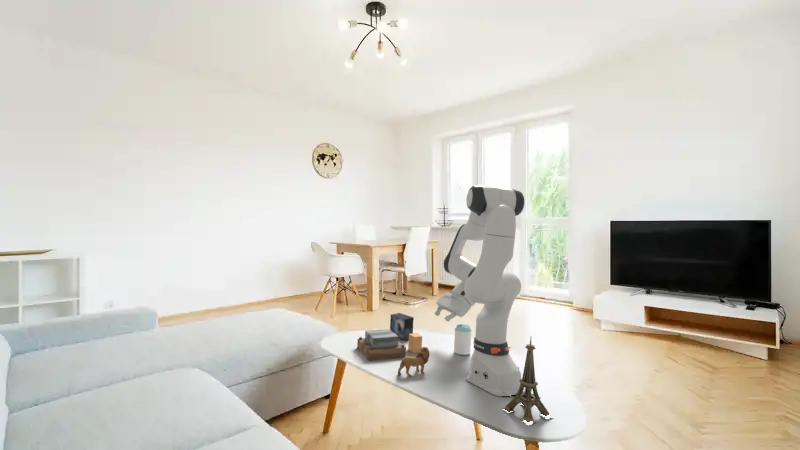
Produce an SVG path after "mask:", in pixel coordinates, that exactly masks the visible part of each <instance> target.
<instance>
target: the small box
mask: <svg viewBox="0 0 800 450" xmlns="http://www.w3.org/2000/svg"><path fill="white" fill-rule="evenodd" d="M414 320H415V319H414V317H413V316H412V315H411V316H410V315H407V314H404V313H400V312H397V313H392V314H390V322H389V324H390V325H389V330H391V331H392V332H393V333H395V334H396V335H397V336H399V340H401V341H404V342H405V341H409V334H412V333H414Z"/></svg>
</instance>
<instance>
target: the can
mask: <svg viewBox="0 0 800 450" xmlns="http://www.w3.org/2000/svg"><path fill="white" fill-rule="evenodd" d="M471 345H472V329H471V326H470V325H469V324H465V323H463V324H461V323H459V324H457V325H456V327H455V328H454V344H453V353H455V354H456V355H458V356H469V354H471Z"/></svg>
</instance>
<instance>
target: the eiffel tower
mask: <svg viewBox="0 0 800 450" xmlns="http://www.w3.org/2000/svg"><path fill="white" fill-rule="evenodd" d="M529 338H530V339H529V344H526V346H525V347H524V348H525V349H526V356H525V362H524V363H525V364H524V368H523V373H522V376H521V379H520V381H519V382H520V383H521V384H520V387H519V390H518V392H517V393H515V395H516V396H513V398H512V399H511V400H510V401H509V402H508V403H507V404H506V405H505V407H503V408H502V409H505V410H507V411H508V412H510V411H514V410H515V408H516V407H517V406H518V405H519V404H521V403H522V404H523V405H524V406H525V407H526V408H525V409H524V410H525V411H524V415H523V419H524V420H526V421H527V422H530V421H534V418H533V414H532V413H533V412H532V408H533V406H535V407H536V408H537V410H538V411H539V413H540V414H543V415H545V416H547V415H549V414H550V412H549V411H548V408H546V407H545V405H544V403H543V402H542V400H541V396H540V395H539V393H538V388H537V387H538V385H539V383H538V381H536V373H535V372H536V371H535V362H534V359H535V358H534V350H536V347H535V345H534V344H532V337H529ZM524 387H525V392H523V389H524Z"/></svg>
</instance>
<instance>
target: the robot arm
mask: <svg viewBox="0 0 800 450" xmlns="http://www.w3.org/2000/svg"><path fill="white" fill-rule="evenodd" d="M466 206H467V209H469V211H470V214H469V216H468V220H467V221H466V223H463V224H462V225H461V226H460V227H459V229H458V231H457V233H456V234H455V237H454V239H453V241H452V244H451V246H450V249H449V251H448V253H447V255H446V256H445V258H444V260H443V269H444V271H445V272H446V273H448V274H450V275H452V276H453V277H455V278H457V280H459V281H460V282H458V283H457V284H456V285H455V286H454V288H453V289H452V290H451V291H450V290H449V291H448V292H445V293H443V294H442V295H441V296H440V297H439V298H438V299H437V300H436V304H437V308H436V311H435V312H434V315H435V316H436V317H439V316H440V314H441V312H442V311H443V310H445V311H446V312H449V313H450V314H448V315H446V316H445V317H444V320H445V321H446V322H450V321H451V320H452V319H454V318H456V317H457V316H458V317H460V318H462V317H464V316H466V315H467V313H468V312H469V311H470V310H471V308H472V307H473V306H475V304H481V305H483V306H482V308H481V310H480V312H479V313H478V314H477V316H476V319H475V334H474V335H475V337H474V338H473V349H474V350H473V353H472V355H471V356H470V363H469V370H468V375H467V376H466V377H465V379H466V381H467V382H469V383H470V384H472V385H475V386H476V387H478V388H480V389H481V390H484V391H485V392H488V393H490V394H492V395H493V396H496V397H502V396H510V395H515V393H517V392H518V390H519V387H520V384H521V383H520V382H519V381H520V379H522V373H521V372H522V371H521V370H520V367H519V366H518V365H517V364H516V363H515V361H514V360H513V358H512V357H511V355H510V349H511V348H512V347H511V346H509V345H508V341H507V334H508V333H507V331H508V321H509V317H510V312H511V310H512V306H513V305H514V301H515V300H516V298H517V297H518V296H519V294H520V293H521V289H522V283H521V280H520V278H519V277H518V276H517V275H516V274H514V273H512V272H508V271H505V268H506V267H507V265H508V264H509V263H510V262H511V261H512V259H513V256H514V251H515V250H514V248H515V239H516V233H517V232H516V230H517V227H516V226H517V224H516V223H517V221H516V219H517V218H516V217H517V216H519V215H520V214H521V213H522V212H523V211H524V207H525V196H524V194H523V193H522V192H521V191H520V190H517V189H515V188H512V189H511V188H506V187H503V186H502V187H500V186H496V185H479V184H477V185H476V184H475V185H472V186H471V187H470V188H469V190H468V192H467V194H466ZM467 241H478V242H479V241H482V246H481V253H480V257H479V259H478V262H477V264H476V263H474V262H472V261H471V260H469V259H467V258H466V257H464V256H463V253H462V252H463V249H464V247H465V246H466V245H465V244H466V243H467ZM523 392H525V387H524V389H523ZM510 397H511V396H510Z"/></svg>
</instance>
